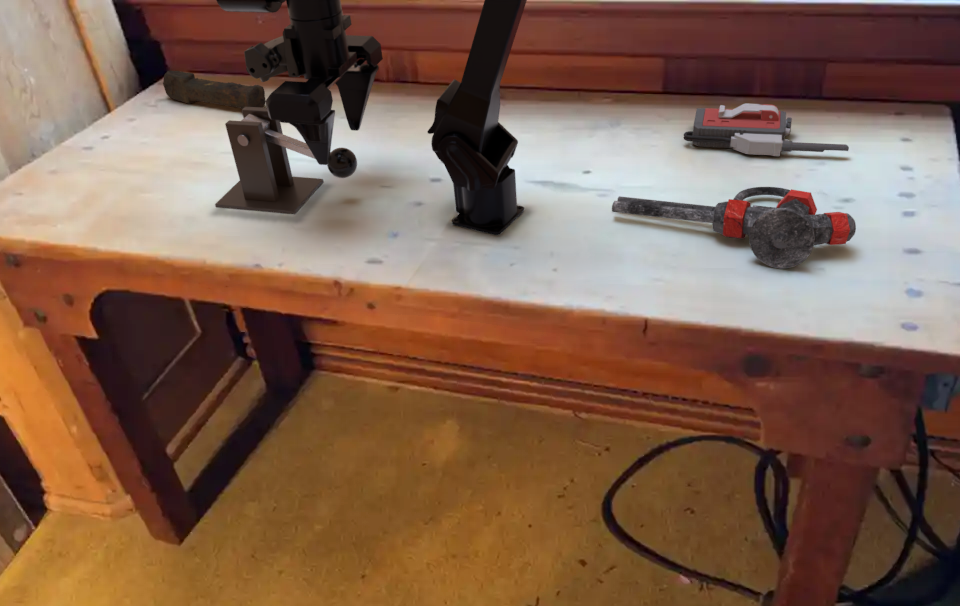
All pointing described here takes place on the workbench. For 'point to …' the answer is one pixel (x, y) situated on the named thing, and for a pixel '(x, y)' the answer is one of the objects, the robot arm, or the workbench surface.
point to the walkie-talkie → (749, 131)
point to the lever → (339, 159)
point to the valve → (759, 222)
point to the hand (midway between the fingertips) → (339, 146)
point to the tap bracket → (263, 170)
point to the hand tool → (212, 91)
